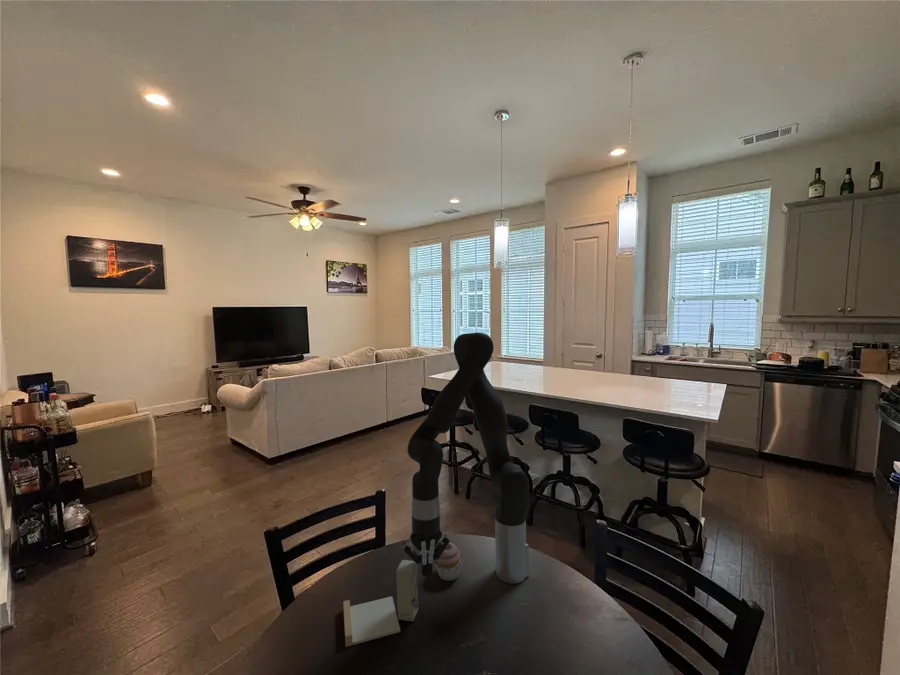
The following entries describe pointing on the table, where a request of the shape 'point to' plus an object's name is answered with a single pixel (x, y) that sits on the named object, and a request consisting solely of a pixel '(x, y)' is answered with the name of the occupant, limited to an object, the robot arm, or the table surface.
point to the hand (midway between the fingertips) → (426, 575)
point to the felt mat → (369, 620)
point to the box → (407, 590)
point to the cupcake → (449, 563)
